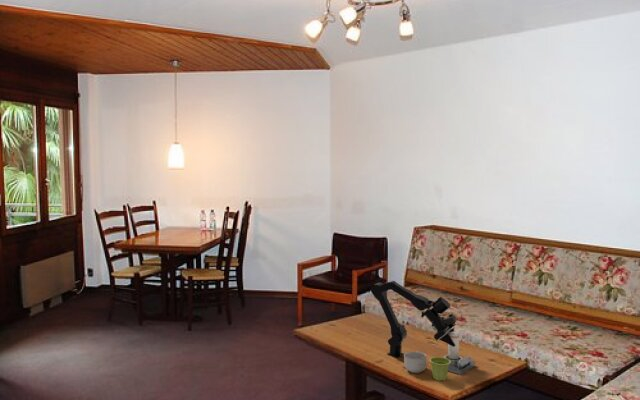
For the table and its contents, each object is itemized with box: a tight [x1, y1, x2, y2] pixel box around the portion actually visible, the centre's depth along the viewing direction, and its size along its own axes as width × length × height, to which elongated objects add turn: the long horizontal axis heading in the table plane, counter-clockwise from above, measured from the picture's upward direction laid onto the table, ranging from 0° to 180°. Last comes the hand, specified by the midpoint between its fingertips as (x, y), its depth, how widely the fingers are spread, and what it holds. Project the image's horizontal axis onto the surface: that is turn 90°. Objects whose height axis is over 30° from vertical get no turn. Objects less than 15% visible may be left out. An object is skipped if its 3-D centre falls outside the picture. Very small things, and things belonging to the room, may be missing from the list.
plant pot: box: [429, 356, 450, 382], centre depth 254 cm, size 9×9×9 cm
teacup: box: [403, 350, 427, 374], centre depth 265 cm, size 14×11×8 cm
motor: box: [443, 354, 476, 376], centre depth 270 cm, size 16×13×5 cm
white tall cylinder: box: [447, 331, 460, 359], centre depth 270 cm, size 5×5×12 cm
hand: (456, 344), depth 269 cm, fingers closed on white tall cylinder, 5 cm apart
